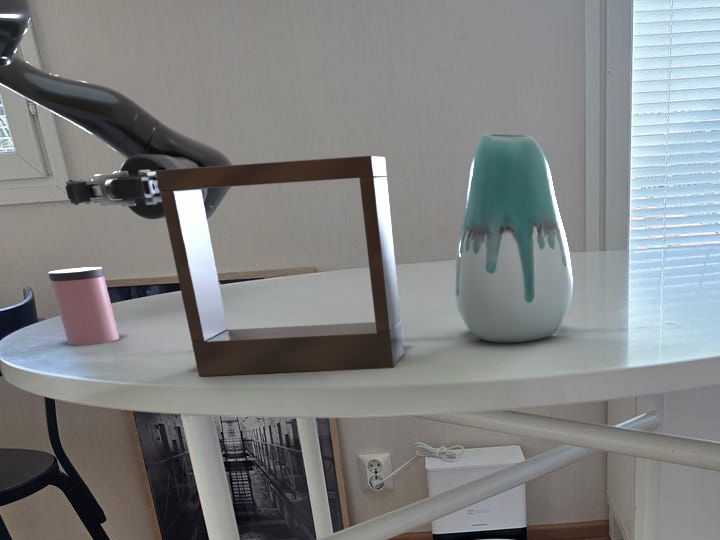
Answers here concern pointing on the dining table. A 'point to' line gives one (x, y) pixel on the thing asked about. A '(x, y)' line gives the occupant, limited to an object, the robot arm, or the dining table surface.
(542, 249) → the vase
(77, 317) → the liner canister
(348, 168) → the shelf
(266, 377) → the dining table surface
